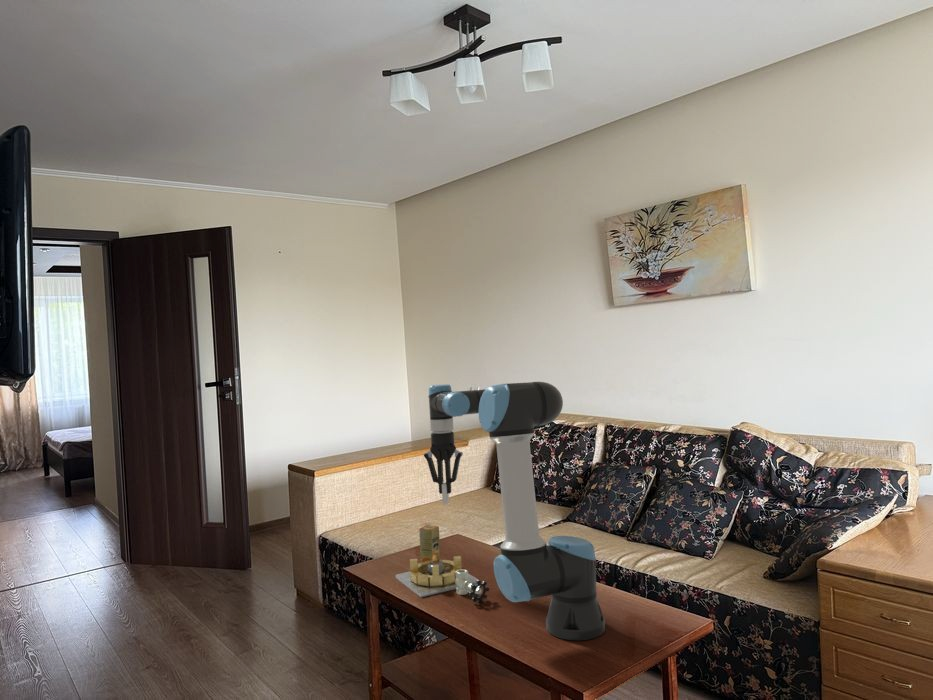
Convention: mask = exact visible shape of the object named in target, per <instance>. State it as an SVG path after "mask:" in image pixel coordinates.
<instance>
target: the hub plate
mask: <svg viewBox="0 0 933 700" xmlns="http://www.w3.org/2000/svg"><path fill="white" fill-rule="evenodd" d="M432 565H439V575H442V574H445V573H449V572H451V571H447V570H444V564H443V563H441V562H433V563H430V564H428V571H427V572H423V573H422V574H426V575H433V573H432ZM395 579H396V580H398V581H399V582H401V583H402V584H403V585H404V586H406V587H407V588H408V589H409V590H411V591H412V592H413V593H414V594H416V595H417V596H419V597H420V598H425V597H428V596H433V595H437V594H441V593H444V592H448V591H452V590H453V591H454V590H456V588H457V587H456V584H455V582H454V583H450V584H447V585H441V586H430V585H429V586H424V585H418V584H416V583H414V582H412V581H411V580H410V571H406V572H402V573H397V574H395ZM468 579H469V580H470V581H472V583H473V584H474V585H476V584H477V582H476V581H477V580H479V579H478V578H477V577H475V576H473V575H471V574H470V573H468Z"/></svg>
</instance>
